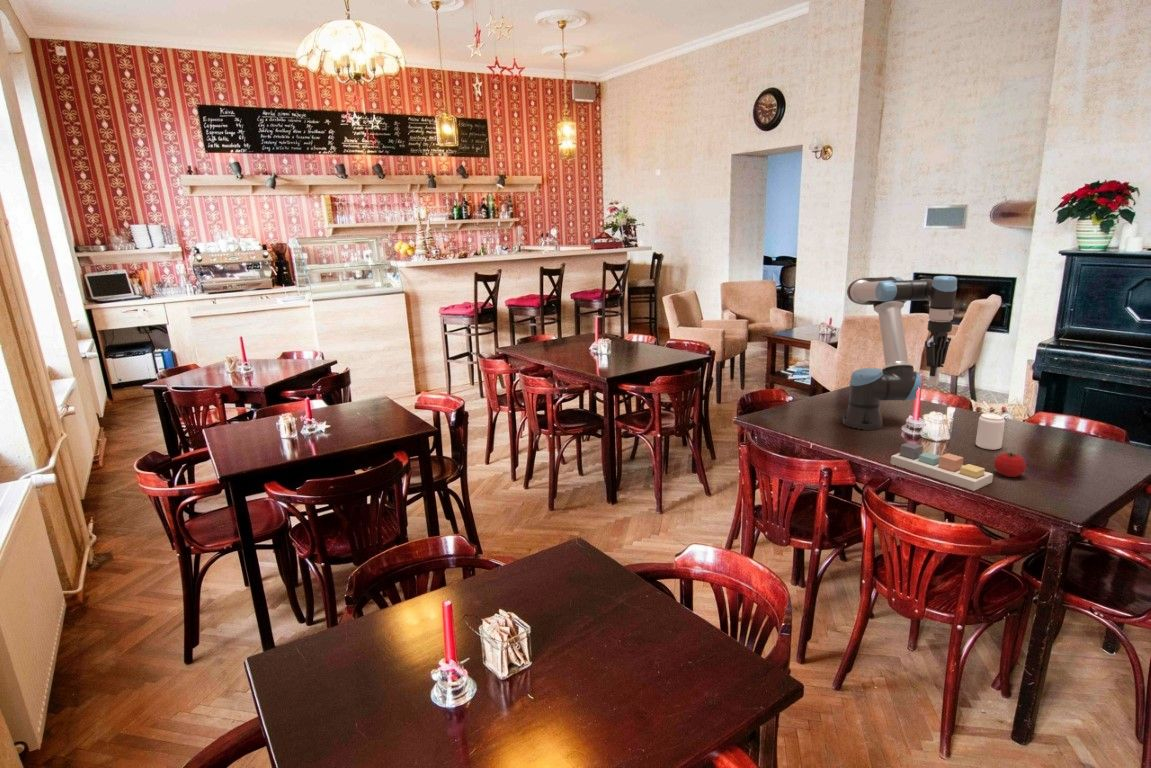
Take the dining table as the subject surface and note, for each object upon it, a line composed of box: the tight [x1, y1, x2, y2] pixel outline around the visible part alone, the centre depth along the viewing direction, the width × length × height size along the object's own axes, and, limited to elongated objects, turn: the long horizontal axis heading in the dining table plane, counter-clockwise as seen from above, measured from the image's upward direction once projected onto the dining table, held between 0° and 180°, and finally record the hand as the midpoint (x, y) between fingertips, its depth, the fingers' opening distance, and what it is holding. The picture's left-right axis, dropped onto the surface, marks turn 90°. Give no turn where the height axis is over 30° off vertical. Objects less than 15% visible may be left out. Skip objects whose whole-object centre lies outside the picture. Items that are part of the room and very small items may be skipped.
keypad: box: [889, 452, 994, 492], centre depth 212 cm, size 28×11×3 cm, turn 32°
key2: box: [919, 451, 941, 466], centre depth 214 cm, size 5×5×4 cm
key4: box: [960, 463, 986, 479], centre depth 203 cm, size 5×5×4 cm
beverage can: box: [975, 412, 1006, 451], centre depth 232 cm, size 8×8×12 cm
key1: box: [899, 441, 924, 460], centre depth 220 cm, size 5×5×4 cm
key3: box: [939, 452, 964, 472], centre depth 208 cm, size 5×5×4 cm
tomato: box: [993, 452, 1027, 478], centre depth 208 cm, size 9×9×8 cm
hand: (933, 384), depth 230 cm, fingers closed
